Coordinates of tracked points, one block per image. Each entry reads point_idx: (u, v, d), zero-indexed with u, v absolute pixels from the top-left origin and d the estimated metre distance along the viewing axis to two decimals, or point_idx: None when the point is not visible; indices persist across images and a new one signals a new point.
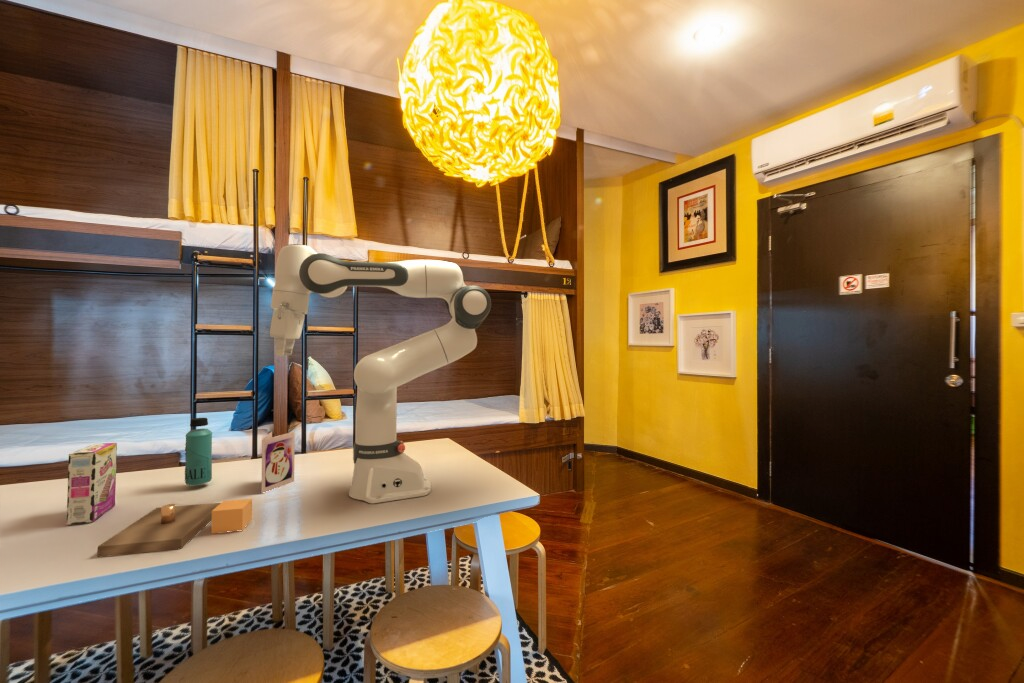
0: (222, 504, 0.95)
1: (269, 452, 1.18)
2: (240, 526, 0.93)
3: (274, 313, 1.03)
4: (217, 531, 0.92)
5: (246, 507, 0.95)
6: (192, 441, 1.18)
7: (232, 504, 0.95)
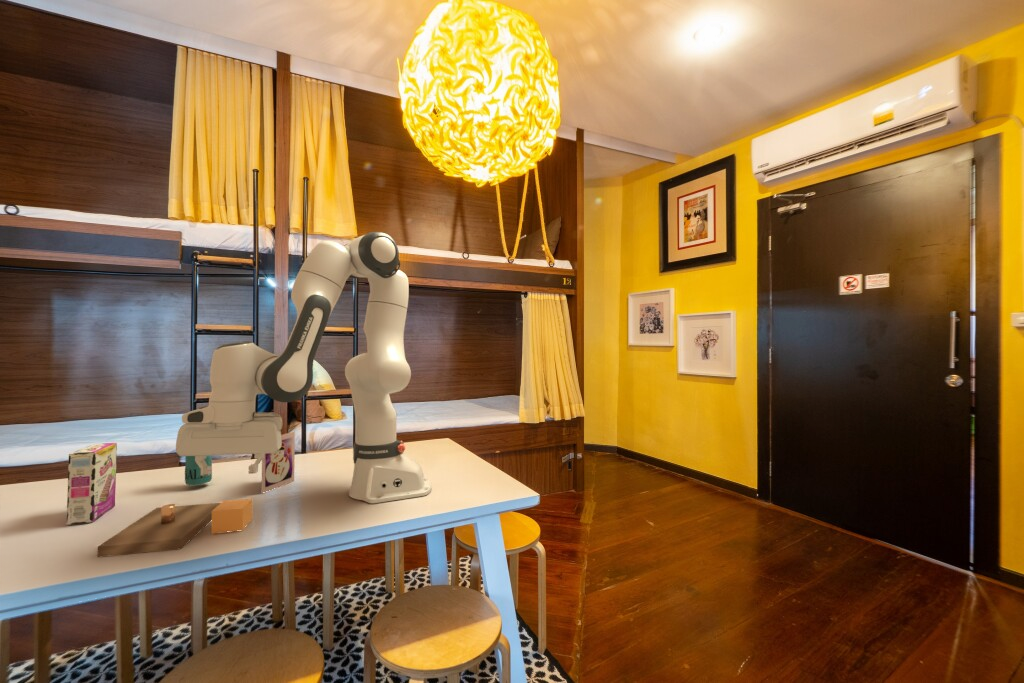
0: (222, 504, 0.95)
1: None
2: (240, 526, 0.93)
3: (275, 427, 0.96)
4: (217, 531, 0.92)
5: (246, 507, 0.95)
6: None
7: (232, 504, 0.95)
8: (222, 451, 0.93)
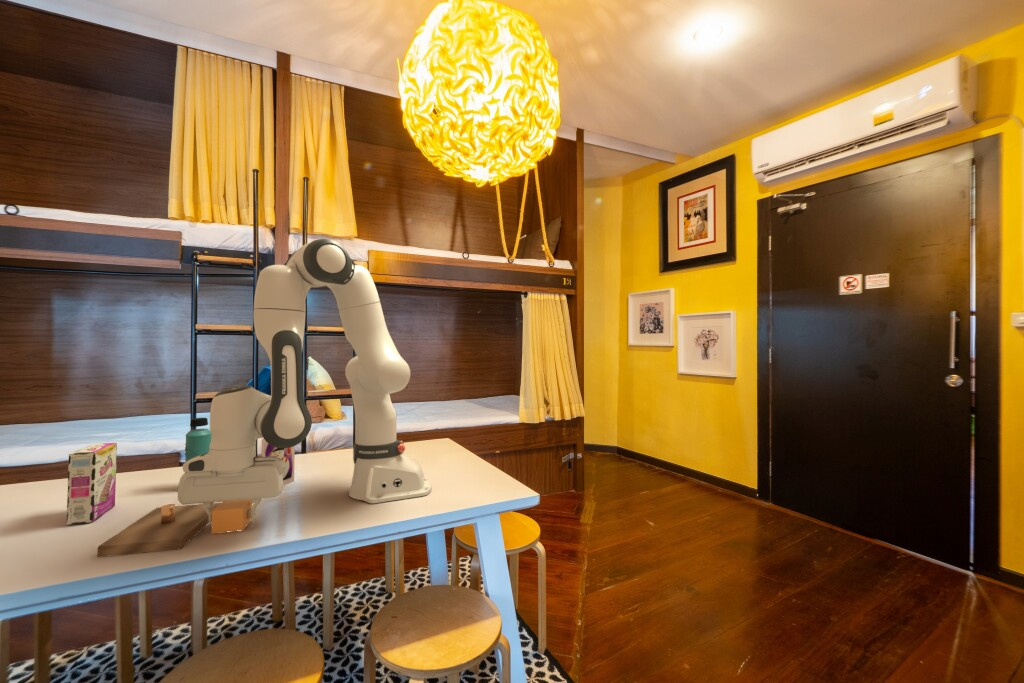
0: (222, 504, 0.95)
1: (269, 452, 1.18)
2: (240, 526, 0.93)
3: (277, 471, 0.96)
4: (217, 531, 0.92)
5: (246, 507, 0.95)
6: (192, 441, 1.18)
7: (232, 503, 0.95)
8: (224, 498, 0.93)
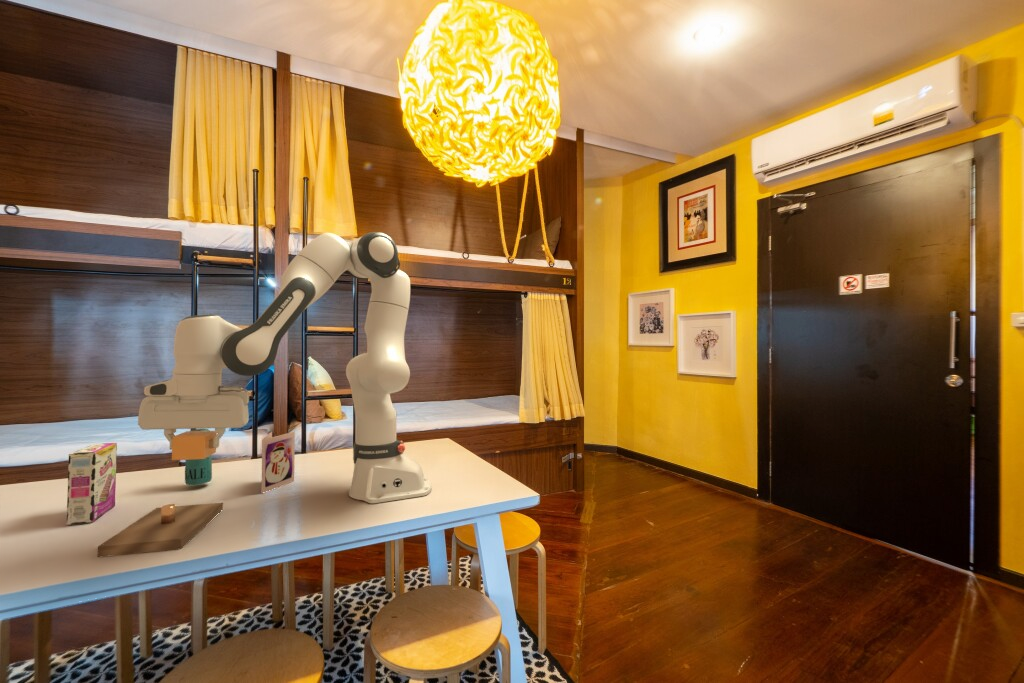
0: (185, 433, 0.93)
1: (269, 452, 1.18)
2: (202, 454, 0.91)
3: (242, 401, 0.95)
4: (178, 457, 0.90)
5: (209, 437, 0.94)
6: None
7: (195, 433, 0.94)
8: (186, 425, 0.91)
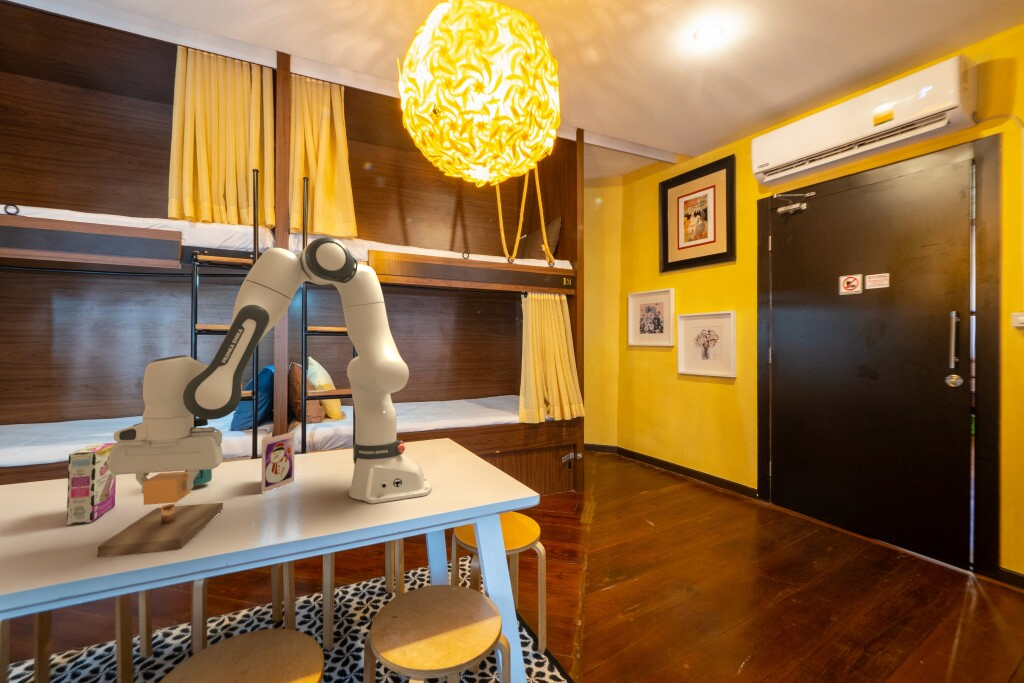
0: (157, 475, 0.93)
1: (269, 452, 1.18)
2: (174, 497, 0.90)
3: (214, 442, 0.94)
4: (149, 502, 0.89)
5: (182, 479, 0.93)
6: None
7: (167, 475, 0.93)
8: (158, 469, 0.91)
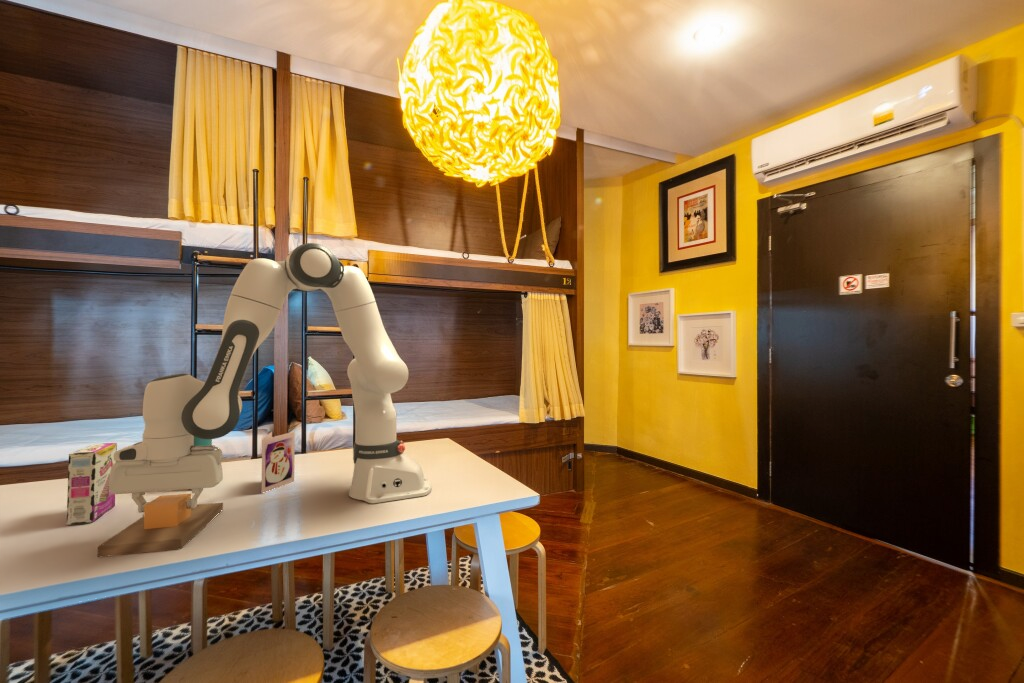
0: (158, 499, 0.93)
1: (269, 452, 1.18)
2: (174, 521, 0.90)
3: (214, 460, 0.94)
4: (150, 526, 0.89)
5: (182, 502, 0.93)
6: None
7: (168, 498, 0.93)
8: (158, 488, 0.91)
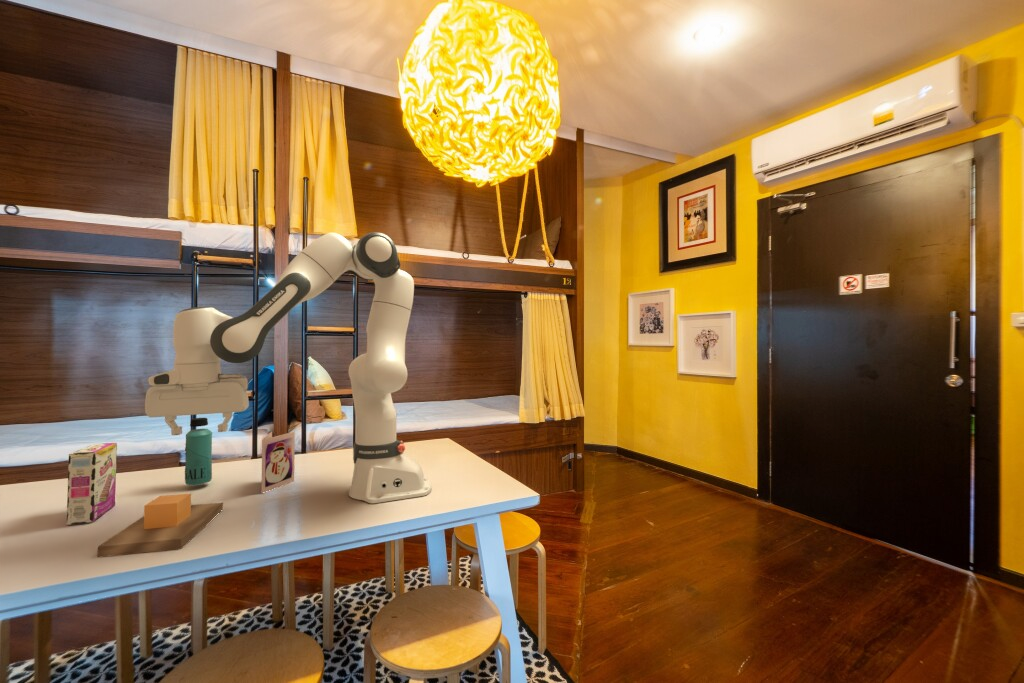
0: (158, 499, 0.93)
1: (269, 452, 1.18)
2: (174, 521, 0.90)
3: (241, 387, 1.01)
4: (150, 526, 0.89)
5: (182, 502, 0.93)
6: (192, 441, 1.18)
7: (168, 498, 0.93)
8: (190, 411, 0.98)
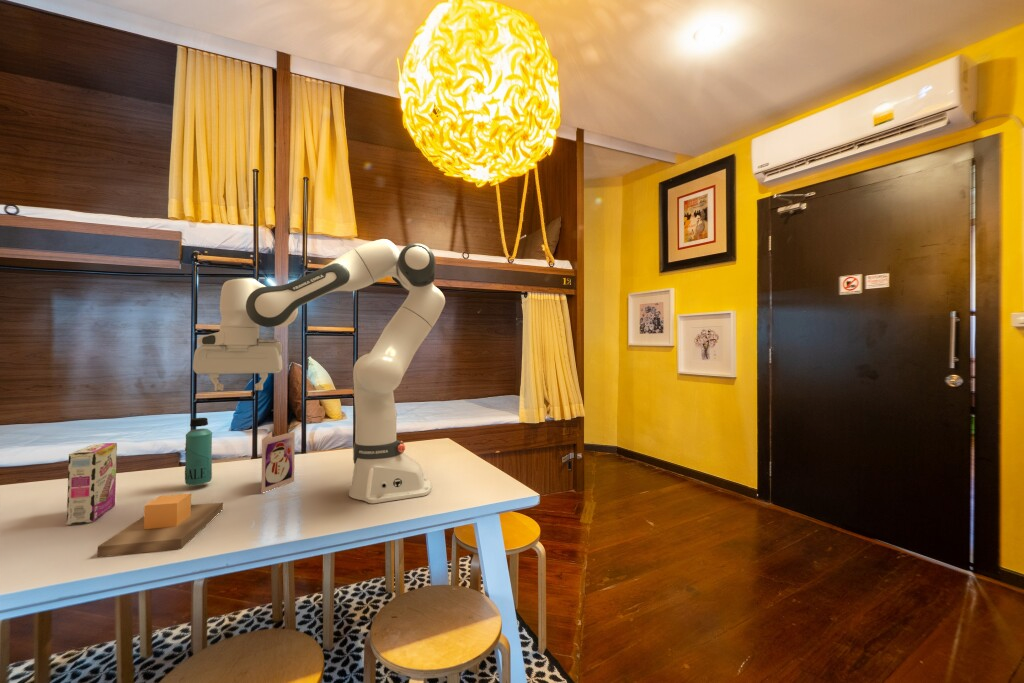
0: (158, 499, 0.93)
1: (269, 452, 1.18)
2: (174, 521, 0.90)
3: (277, 351, 1.12)
4: (150, 526, 0.89)
5: (182, 502, 0.93)
6: (192, 441, 1.18)
7: (168, 498, 0.93)
8: (232, 370, 1.09)
